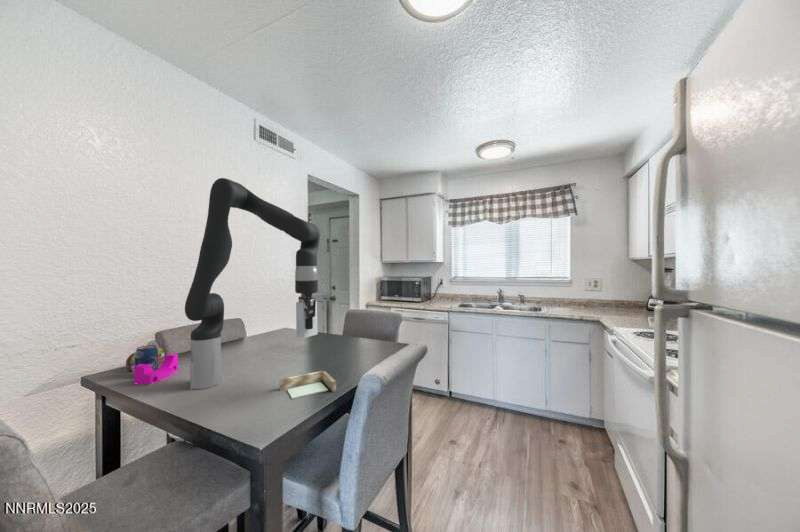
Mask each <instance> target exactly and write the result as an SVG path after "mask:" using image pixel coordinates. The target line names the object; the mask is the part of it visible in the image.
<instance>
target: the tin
mask: <svg viewBox="0 0 800 532" xmlns="http://www.w3.org/2000/svg"><path fill="white" fill-rule="evenodd" d="M156 348H157V349H158V364H160V363H159V362H161V363H163V362H162V361H164V359H165V355H167V352H166V349H165V348H164V347H162V346H156ZM134 366H135V352H133V353H131V354H130V355H129V356H128V357H127V358H126V360H125V367H126V370H128V371H129V370H132V371H131V372H133V370H134Z"/></svg>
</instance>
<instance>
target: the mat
mask: <svg viewBox="0 0 800 532" xmlns="http://www.w3.org/2000/svg"><path fill="white" fill-rule="evenodd" d="M286 391H287V393H288V395H289V397H290V398H291V400H296V399H298V398H303V397H308V396H312V395H316V394H319V393H323V392H325V393H326V392H327V391H329V388H328V387H326V385H324V384H323V383H322V381H320V382H316V383H311V384H307V385H302V386H297V387H293V388H288V389H286Z"/></svg>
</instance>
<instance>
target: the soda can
mask: <svg viewBox="0 0 800 532" xmlns="http://www.w3.org/2000/svg"><path fill="white" fill-rule="evenodd" d="M156 347H157V345H156V344H151V345H149V344H148V345H142V346H138V347H136V350H135V352H134V353H135V366H137V365H140V364H150V365H151V368H152V370H153V371H155V370H157V369H158V368H159V363H158V349H157V348H156Z"/></svg>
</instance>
